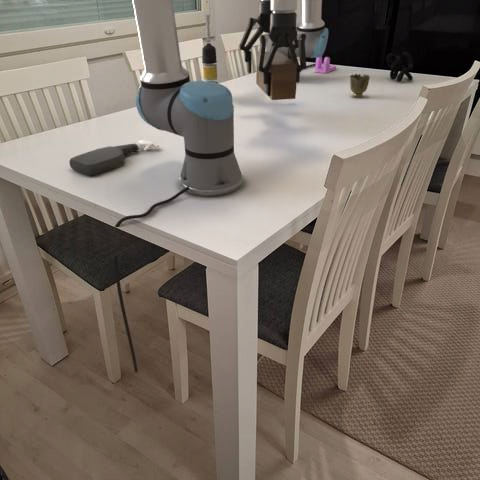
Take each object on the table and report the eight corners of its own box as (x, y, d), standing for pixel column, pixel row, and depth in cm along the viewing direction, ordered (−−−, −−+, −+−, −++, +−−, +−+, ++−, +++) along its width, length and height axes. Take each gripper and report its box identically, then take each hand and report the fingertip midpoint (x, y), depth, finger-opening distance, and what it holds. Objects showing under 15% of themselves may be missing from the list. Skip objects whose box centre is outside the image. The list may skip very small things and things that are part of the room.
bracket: (325, 73, 215) (326, 57, 211) (315, 71, 218) (316, 56, 214) (337, 68, 224) (338, 53, 220) (327, 67, 227) (328, 52, 223)
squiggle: (400, 92, 202) (376, 71, 205) (417, 76, 202) (392, 56, 205) (405, 81, 191) (380, 59, 194) (423, 64, 191) (397, 42, 194)
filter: (220, 99, 177) (217, 15, 161) (206, 100, 176) (202, 16, 160) (215, 96, 182) (212, 14, 166) (202, 97, 180) (197, 14, 164)
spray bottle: (67, 168, 120) (139, 144, 136) (91, 178, 114) (163, 151, 130) (65, 157, 118) (137, 134, 134) (89, 167, 112) (162, 142, 128)
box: (295, 98, 137) (297, 63, 131) (271, 100, 135) (272, 64, 130) (277, 82, 155) (277, 51, 150) (256, 83, 154) (256, 52, 149)
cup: (345, 97, 176) (348, 76, 172) (351, 93, 181) (353, 73, 177) (364, 99, 173) (367, 78, 169) (369, 95, 178) (372, 74, 174)
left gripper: (313, 9, 131) (308, 89, 143) (245, 11, 128) (246, 93, 140) (322, 11, 125) (316, 95, 137) (251, 14, 122) (251, 99, 134)
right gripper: (305, -3, 143) (301, 67, 154) (229, 0, 140) (230, 71, 151) (313, -1, 137) (308, 71, 148) (233, 1, 133) (234, 75, 145)
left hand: (280, 93), depth 138 cm, fingers closed on box, 7 cm apart
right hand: (269, 71), depth 150 cm, fingers open, 13 cm apart
